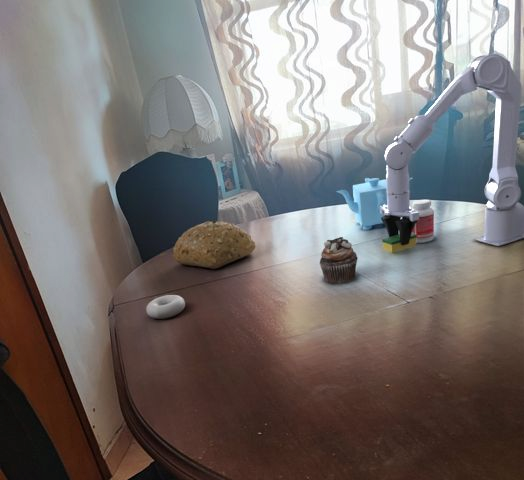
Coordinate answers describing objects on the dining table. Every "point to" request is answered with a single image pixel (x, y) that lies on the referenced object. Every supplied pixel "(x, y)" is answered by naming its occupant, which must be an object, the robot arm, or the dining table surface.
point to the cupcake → (338, 261)
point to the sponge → (397, 243)
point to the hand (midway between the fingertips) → (399, 242)
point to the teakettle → (368, 201)
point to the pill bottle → (424, 221)
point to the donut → (165, 306)
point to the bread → (212, 245)
